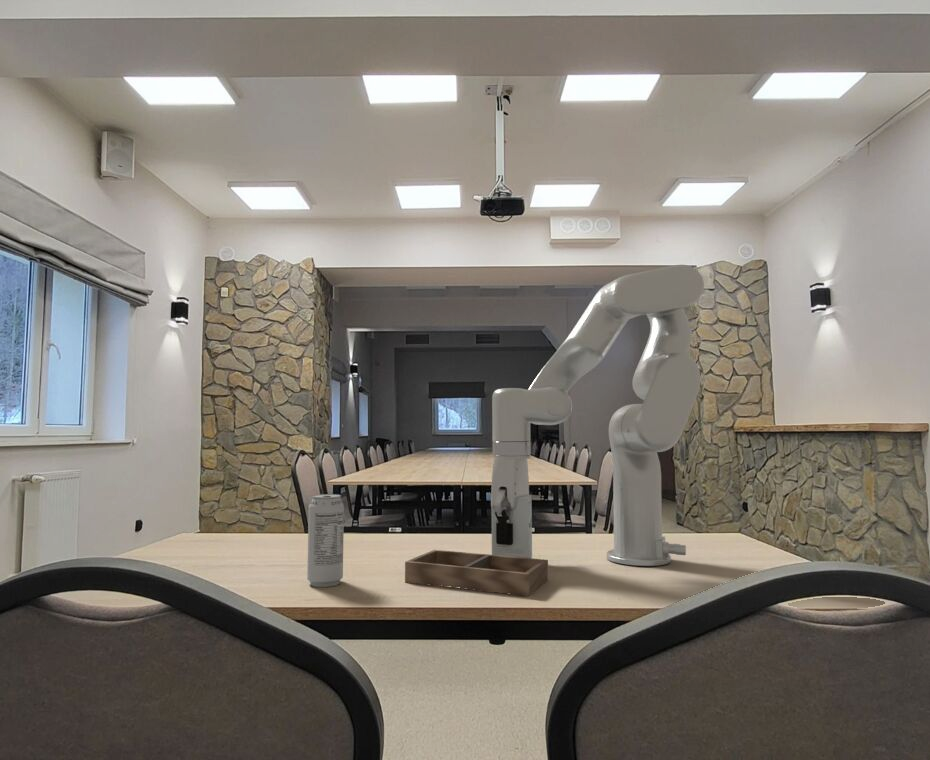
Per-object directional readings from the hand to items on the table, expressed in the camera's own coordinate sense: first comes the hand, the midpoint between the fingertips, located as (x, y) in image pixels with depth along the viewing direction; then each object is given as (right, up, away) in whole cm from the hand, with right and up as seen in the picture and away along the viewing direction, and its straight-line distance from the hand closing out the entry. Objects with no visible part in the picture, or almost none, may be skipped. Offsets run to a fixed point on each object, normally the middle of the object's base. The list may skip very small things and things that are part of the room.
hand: (512, 540), depth 122 cm
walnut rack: (-7, -4, -13) cm, 15 cm away
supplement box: (0, -4, 0) cm, 4 cm away
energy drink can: (-34, -4, -14) cm, 37 cm away
